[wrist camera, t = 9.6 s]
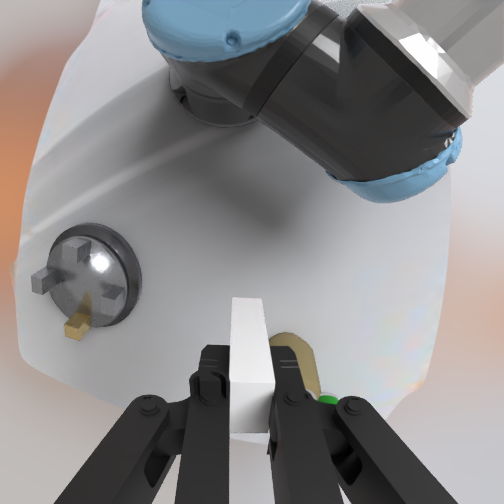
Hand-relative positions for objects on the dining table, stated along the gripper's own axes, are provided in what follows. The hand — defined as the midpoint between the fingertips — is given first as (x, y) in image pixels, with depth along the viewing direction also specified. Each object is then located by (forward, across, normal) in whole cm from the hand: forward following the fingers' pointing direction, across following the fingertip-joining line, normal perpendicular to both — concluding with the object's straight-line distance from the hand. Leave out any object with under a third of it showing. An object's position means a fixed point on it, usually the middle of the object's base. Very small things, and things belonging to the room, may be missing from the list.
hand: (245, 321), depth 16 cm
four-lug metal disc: (+23, +22, +8) cm, 33 cm away
